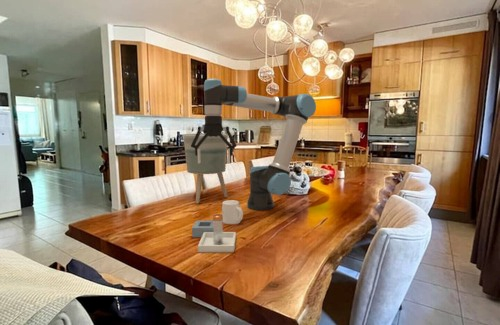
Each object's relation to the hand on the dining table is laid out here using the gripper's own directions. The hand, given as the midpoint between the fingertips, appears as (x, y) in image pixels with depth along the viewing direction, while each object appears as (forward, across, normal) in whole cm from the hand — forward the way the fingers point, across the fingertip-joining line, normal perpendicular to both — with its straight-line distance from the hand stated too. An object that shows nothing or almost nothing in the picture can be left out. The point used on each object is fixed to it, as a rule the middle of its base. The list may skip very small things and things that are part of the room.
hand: (214, 163), depth 125 cm
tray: (+29, -4, +22) cm, 37 cm away
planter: (+29, +11, -45) cm, 55 cm away
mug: (+29, -8, -3) cm, 30 cm away
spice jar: (+28, -4, +22) cm, 36 cm away
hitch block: (+29, +3, +11) cm, 31 cm away
